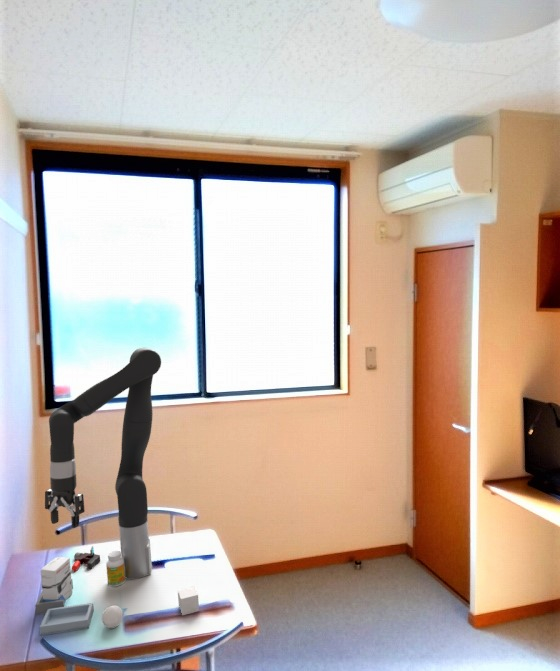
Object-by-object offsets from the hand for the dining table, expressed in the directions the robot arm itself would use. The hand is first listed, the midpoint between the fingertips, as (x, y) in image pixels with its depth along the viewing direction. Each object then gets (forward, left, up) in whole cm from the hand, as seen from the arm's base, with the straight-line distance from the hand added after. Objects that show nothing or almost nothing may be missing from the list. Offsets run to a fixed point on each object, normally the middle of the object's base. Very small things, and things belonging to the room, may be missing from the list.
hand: (65, 524), depth 168 cm
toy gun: (0, -17, -22) cm, 28 cm away
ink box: (+3, +5, -22) cm, 22 cm away
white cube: (-37, +20, -22) cm, 47 cm away
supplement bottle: (-14, -1, -22) cm, 26 cm away
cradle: (+3, +5, -22) cm, 22 cm away
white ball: (-16, +22, -22) cm, 35 cm away
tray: (-3, +18, -22) cm, 28 cm away
